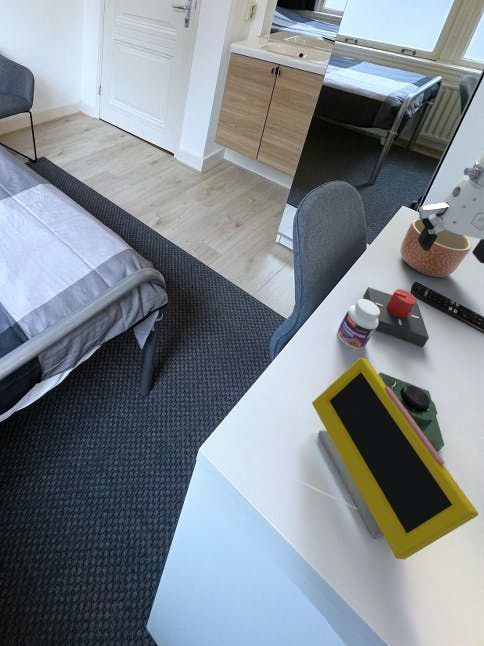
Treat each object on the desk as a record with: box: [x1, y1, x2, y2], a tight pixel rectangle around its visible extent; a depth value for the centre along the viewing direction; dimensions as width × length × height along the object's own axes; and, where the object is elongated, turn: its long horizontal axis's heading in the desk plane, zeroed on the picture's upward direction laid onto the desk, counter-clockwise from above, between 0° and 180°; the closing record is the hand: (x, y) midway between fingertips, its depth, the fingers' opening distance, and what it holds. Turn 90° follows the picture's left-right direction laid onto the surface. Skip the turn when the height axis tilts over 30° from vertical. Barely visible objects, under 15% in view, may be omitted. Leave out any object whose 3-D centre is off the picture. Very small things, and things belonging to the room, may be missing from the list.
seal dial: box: [387, 288, 418, 318], centre depth 91 cm, size 4×4×5 cm
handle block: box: [362, 286, 430, 348], centre depth 93 cm, size 10×10×3 cm
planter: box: [399, 218, 473, 278], centre depth 108 cm, size 12×12×11 cm
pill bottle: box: [336, 298, 380, 350], centre depth 86 cm, size 5×5×10 cm
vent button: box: [402, 384, 430, 412], centre depth 73 cm, size 4×4×2 cm
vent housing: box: [377, 371, 445, 453], centre depth 74 cm, size 10×8×4 cm
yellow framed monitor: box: [311, 357, 479, 560], centre depth 62 cm, size 20×8×16 cm, turn 5°
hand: (450, 252), depth 83 cm, fingers open, 9 cm apart
